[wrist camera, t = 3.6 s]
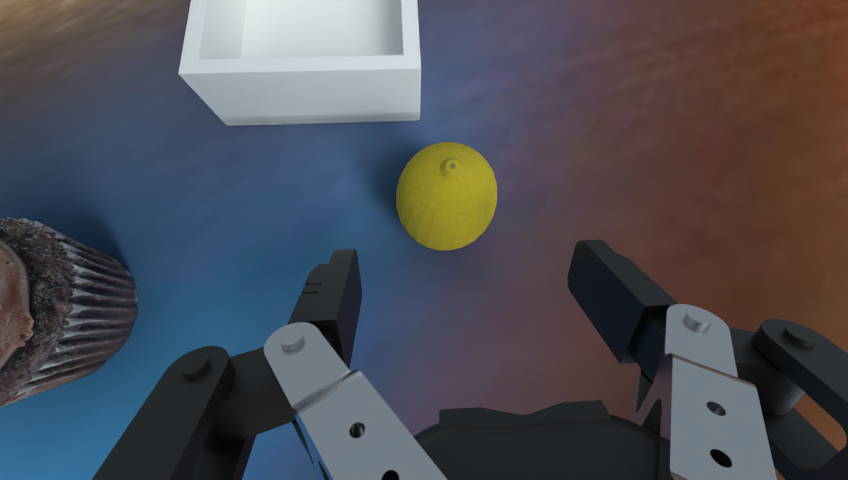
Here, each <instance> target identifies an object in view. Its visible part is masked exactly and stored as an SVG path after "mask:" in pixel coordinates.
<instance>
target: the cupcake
mask: <svg viewBox="0 0 848 480" xmlns="http://www.w3.org/2000/svg"><path fill="white" fill-rule="evenodd" d="M137 303H138V295H137V289H136V285H135V283H134V281H133V278H132V275H131V273H130V272H129V271H128V270H127V269H125V268H124V267H123V266H122V264H121V263H120V262H118V261H117V260H116V259H114V258H112V257H109V256H107V255H105V254H103V253H101V252H99V251H96V250H94V249H92V248H89V247H87V246H85V245H83V244H81V243H79V242H77V241H75V240H73V239H71V238H69V237H67V236H65V235H63V234H61V233H59V232H57V231H55V230H53V229H51V228H49V227H47V226H45V225H43V224H41V223H39V222H37V221H33V222H32V221H30V220H28V219H26V218H21V219H18V220H16V219H13V218H11V217H8V218H7V220H5V219H3V218H0V407H3V406H5V405H8V404H11V403H14V402H16V401H19V400H22V399H24V398H26V397H28V396H31V395H34V394H37V393H40V392H43V391H46V390H49V389H52V388H55V387H58V386H61V385H63V384H66V383H69V382H72V381H74V380H77V379H80V378H82V377H84V376H86V375H89V374H91V373H93V372H95V371H96V370H97V369H98V368H99V367H100V366H102V365H103V364H104V363H105V362H106V360H107V358H109V357H110V356H112V355H114V354H115V353H116V352H117V351H118V350H119V349H120V348H121V346H122V345H123V344H124V343H125V341H126V340H127V339H128V337H129V335H130V332H131V329H132V326H133V324H134V322H135V319H136V317H137V311H138V307H137Z"/></svg>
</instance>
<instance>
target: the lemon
mask: <svg viewBox="0 0 848 480" xmlns="http://www.w3.org/2000/svg"><path fill="white" fill-rule="evenodd" d="M496 203H497V184H496V180H495V177H494V173H493V171H492V169H491V167H490V166H489V164H488V162H487V161H486V160H485V159H484V158H483V157H482V155H481V154H480V153H478V152H477V151H475V150H474V149H472V148H470V147H468V146H466V145H463V144H460V143H453V142H444V143H437V144H434V145H431V146H428V147H426V148H424V149H423V150H421V151H420V152H418V153H417V154H416V155H415V156H414V157H413V158H412V159H411V160H410V161H409V162H408V163H407V165H406V167H405V169H404V170H403V172H402V174H401V176H400V179H399V182H398V187H397V191H396V206H397V212H398V215H399V218H400V221H401V223H402V225H403V226H404V228H405V229H406V231H407V233H408V234H409V235H410V236H411V237H412V238H414V239H415V240H416V241H417V242H418V243H420V244H422V245H424V246H426V247H428V248H432V249H436V250H454V249H458V248H462V247H464V246H466V245H468V244H470V243H471V242H473V241H475V240H476V239H477V238H478V237H479V236H480V235H481V234H482V233H483V232H484V231H485V229H486V228H487V226H488V225H489V223H490V221H491V220H492V218H493V214H494V211H495V207H496Z"/></svg>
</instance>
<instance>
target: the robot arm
mask: <svg viewBox="0 0 848 480" xmlns="http://www.w3.org/2000/svg"><path fill="white" fill-rule="evenodd" d="M568 287H569V290H570V292H571V294H572V295H573V296H574V298H575V299H576V301H577V302H578V304H579V305H580V307H581V308H582V309H583V311H584V312H585V314H586V315H587V317H588V318H589V320H590V321H591V322H592V324H593V325H594V327H595V328H596V330H597V331H598V333H599V334H600V335H601V337H602V338H603V340H604V341H605V343H606V344H607V346H608V347H609V348H610V350H611V351H612V353H613V354H614V356H615V357H616V359H617V360H618V361H619V363H620V364H627V363H638V365H639V366H640V368H639V370H638V372H637V375H636V383H635V390H634V397H633V405H632V412H631V419H630V421H629V420H626V419H624V418H620V417H617V416H614V415H609V413H608V412H607V410H606V408H605V406H604V404H603V403H602V401H601V400H598V401H580V402H563V403H559V404H557V405H554V406H551V407H548V408H545V409H542V410H540V411H537V412H534V413H531V414H528V415H518V414H512V413H507V412H502V411H496V410H491V409H486V408H480V407H478V408H461V409H444V410H439V423H438V424H435V425H433V426H430V427H428V428H426V429H424V430H422V431H421V432H419V433H418V434H417V435H415V436H414V437H413V436H412V435H411V434H410V432H409V431H408V430H407V429H406V427H405V426H404V425H403V424H402V422H401V421H400V420H399V419H398V417H397V416H396V415H395V414H394V412H393V411H392V410H391V409H390V407H389V406H388V405H387V404H386V402H385V401H384V400H383V399H382V397H381V396H380V395H379V394H378V392H377V391H376V390H375V389H374V387H373V386H372V385H371V384H370V382H369V381H368V380H367V379H366V377H365V376H364V375H363V374H362V373H361V372H360V371H359V370H354V371H353V372H351V371H350V370H349V368H350V362H351V357H352V351H353V345H354V340H355V334H356V328H357V322H358V317H359V311H360V305H361V298H362V287H361V279H360V272H359V264H358V257H357V252H356V250H355V249H347V250H334V251H333V254H332V257H331V259H330V262H329V264H319V265H318V266H317V267H316V268H315V269H314V270H313V271H312V272H311V273H310V274H309V276H308V278H307V280H306V283H305V286H304V287H303V290H302V294H300V297H299V299H298V301H297V304H296V306H295V308H294V311H293V313H292V315H291V318H290V320H289V322H288V325H286V326H284V327H282V328H280V329H278V330H277V331H275V332H274V333H273V334H272V335H271V336H270V337H269V338H268V339H267V341H266V343H265V345H264V347H261V348H259V349H256V350H253V351H249V352H246V353H243V354H239V355H236V356H232V357H229V355H228V353H227V351H226V350H225V349H223V348H221V347H218V346H207V347H202V348H198V349H196V350H193V351H191V352H189V353H187V354H185V355H183V356H182V357H180V358H179V359H177V360H176V361H175V362H174V363H173V364H172V365H171V366H170V367H169V368H168V369H167V370H166V371H165V373H164V374H163V376H162V377H161V379H160V380H159V382H158V383H157V385H156V386H155V388H154V389H153V391H152V392H151V393H150V395H149V396H148V398H147V399H146V401H145V402H144V404H143V405H142V407H141V408H140V410H139V411H138V413H137V414H136V416H135V417H134V419H133V420H132V421H131V423H130V424H129V426H128V427H127V429H126V430H125V432H124V433H123V435H122V436H121V438H120V439H119V441H118V442H117V444H116V445H115V446H114V448H113V449H112V451H111V452H110V454H109V455H108V457H107V458H106V460H105V461H104V463H103V464H102V466H101V467H100V469H99V470H98V472H97V473H96V474H95V476H94V477H93V479H92V480H242V477H243V474H244V471H245V468H246V465H247V462H248V459H249V456H250V453H251V450H252V447H253V444H254V441H255V438H256V435H257V434H260V433H262V432H265V431H268V430H270V429H273V428H276V427H279V426H281V425H284V424H287V423H289V422H291V424H292V426H293V428H294V430H295V432H296V434H297V436H298V438H299V440H300V442H301V444H302V446H303V448H304V450H305V452H306V454H307V456H308V458H309V460H310V462H311V464H312V466H313V468H314V470H315V473H316V475H317V477H318V479H319V480H777V478H776V474H775V469H774V467H775V468H776V469H777V470H778V471H779V473H780V474H781V475H782V476H783V477H784V478H785V480H848V354H847V353H846V352H845V351H843V350H842V349H840V348H839V347H838V346H836V345H835V344H833V343H832V342H831V341H829V340H828V339H826V338H825V337H823V336H822V335H820V334H819V333H817V332H815V331H813V330H811V329H809V328H807V327H804V326H802V325H799V324H796V323H793V322H790V321H785V320H780V319H769V320H765V321H764V322H763V323H762V324H761V326H760V327H759V329H758V330H757V332H751V331H745V330H739V329H733V328H728V326H727V325H726V324H725V323H724V322H723V321H722V320H721V319H720V318H718V317H717V316H716V315H714V314H712V313H710V312H708V311H706V310H704V309H701V308H698V307H695V306H691V305H686V304H678V303H677V302H676V301H675V300H674V299H673V298H672V297H671V296H669V295H668V294H667V293H666V292H665V291H664V290H663V289H662V288H661V287H660V286H659V285H657V284H656V283H655V282H654V281H653V280H652V279H650V277H649V276H648V275H647V274H646V273H644V272H642V271H641V269H640V268H639V267H638V266H637V265H636V264H635V263H634V262H632V261H631V260H629V259H628V258H626V257H624V256H622V255H620V254H618V253H616V252H614V251H613V250H612V249H611V248H610V247H609V246H608V245H607V244H606V243H605V242H604V241H602V240H586V241H579V242H577V244H576V246H575V250H574V254H573V258H572V261H571V265H570V269H569V273H568ZM805 393H806V394H807V395H808V396H809V397H811V398H812V399H813V400H814V401H815V402H816V403H817V404H818V405H819V406H821V407H822V408H823V409H824V410H825V411H826V412H827V413H828V414H829V415H831V416H832V417H833V418H834V419H835V420H836V421H837V422H838V423H839V424H840V425H841V426H842V428H843V429H844V431H845V433H846V436H847V444H846V446H845V447H844V448H843V449H842V450H841V451H840V452H839V451H838V450H837V449H836V448H835V447H834V446H832V445H831V444H830V443H829V442H828V441H827V440H826V439H825V438H824V437H823V436H822V435H821V434H820V433H819V432H818V431H817V430H816V429H815V428H814V427H813V426H812V425H811V424H810V423H809V422H808V421H807V420H806V419H805V418H804V417H803V416H802V415H801V414H800V413H798V412H797V411H796V410H795V409H794V408H793V406H794V405H795V404H796V403H797V402H798V400H799V399H800V398H801V397H802V396H803V395H804V394H805Z"/></svg>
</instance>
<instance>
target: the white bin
mask: <svg viewBox="0 0 848 480" xmlns="http://www.w3.org/2000/svg"><path fill="white" fill-rule="evenodd" d="M179 75H180V76H181V77H182V78H183V79H184V80H185V82H186V83H187V84H188V85H189V86H190V87H191V88H192V89H193V90H194V91H195V92H196V93H197V94H198V95H199V96H200V98H201V99H202V100H203V101H204V102H205V103H206V104H207V105H208V106H209V107H210V108H211V109H212V110H213V111H214V112H215V114H216V115H217V116H218V117H219V118H220V119H221V120H222V121H223V122H224V123H225V124H226V125H227V126H240V125H275V124H311V123H346V122H381V121H417V120H420V89H421V61H420V44H419V26H418V9H417V0H191V4H190V10H189V16H188V21H187V27H186V33H185V39H184V45H183V50H182V56H181V62H180V68H179Z"/></svg>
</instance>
